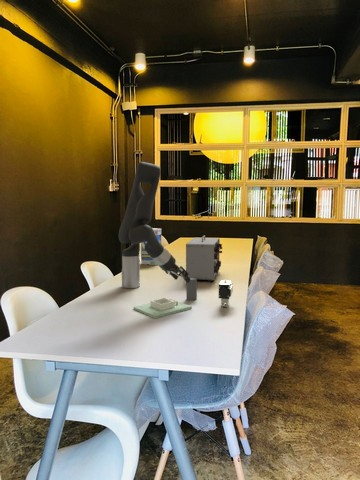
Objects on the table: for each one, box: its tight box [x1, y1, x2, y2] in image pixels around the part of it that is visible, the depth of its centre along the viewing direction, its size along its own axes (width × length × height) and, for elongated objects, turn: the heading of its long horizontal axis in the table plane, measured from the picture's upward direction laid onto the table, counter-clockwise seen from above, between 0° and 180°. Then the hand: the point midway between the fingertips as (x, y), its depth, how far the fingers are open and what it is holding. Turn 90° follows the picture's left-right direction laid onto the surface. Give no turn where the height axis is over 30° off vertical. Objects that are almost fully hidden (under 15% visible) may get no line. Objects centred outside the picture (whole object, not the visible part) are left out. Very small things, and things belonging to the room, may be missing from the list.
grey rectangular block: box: [185, 278, 198, 301], centre depth 177 cm, size 4×4×10 cm
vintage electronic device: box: [185, 235, 223, 283], centre depth 225 cm, size 32×18×25 cm, turn 168°
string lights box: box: [140, 227, 162, 266], centre depth 266 cm, size 13×8×26 cm, turn 73°
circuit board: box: [133, 297, 193, 319], centre depth 163 cm, size 20×16×4 cm
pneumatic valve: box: [218, 279, 234, 308], centre depth 166 cm, size 6×12×12 cm, turn 166°
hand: (182, 279), depth 173 cm, fingers open, 8 cm apart
